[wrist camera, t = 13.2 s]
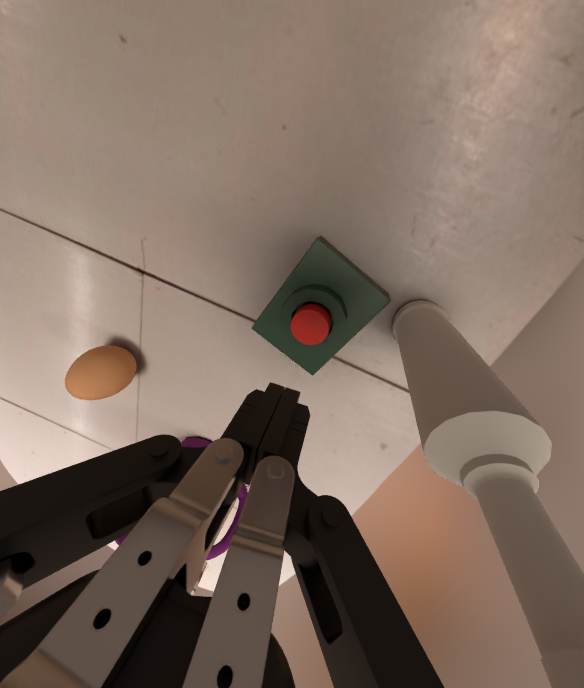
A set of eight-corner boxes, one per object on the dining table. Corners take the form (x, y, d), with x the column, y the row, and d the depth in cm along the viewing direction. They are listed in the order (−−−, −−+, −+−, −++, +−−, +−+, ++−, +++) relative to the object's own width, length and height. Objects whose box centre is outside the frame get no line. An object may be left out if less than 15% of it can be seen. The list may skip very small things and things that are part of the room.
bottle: (441, 344, 27) (768, 890, 5) (389, 344, 28) (480, 778, 7) (449, 296, 25) (1080, 911, 3) (392, 298, 26) (546, 734, 4)
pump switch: (320, 235, 25) (314, 239, 21) (389, 294, 26) (393, 307, 22) (257, 321, 31) (244, 334, 27) (315, 366, 32) (309, 385, 28)
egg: (108, 329, 37) (42, 359, 29) (149, 347, 37) (94, 383, 29) (109, 364, 41) (51, 399, 33) (147, 381, 40) (97, 421, 33)
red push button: (309, 295, 24) (305, 301, 23) (338, 319, 24) (337, 326, 23) (287, 322, 26) (283, 329, 24) (315, 344, 26) (312, 352, 25)
